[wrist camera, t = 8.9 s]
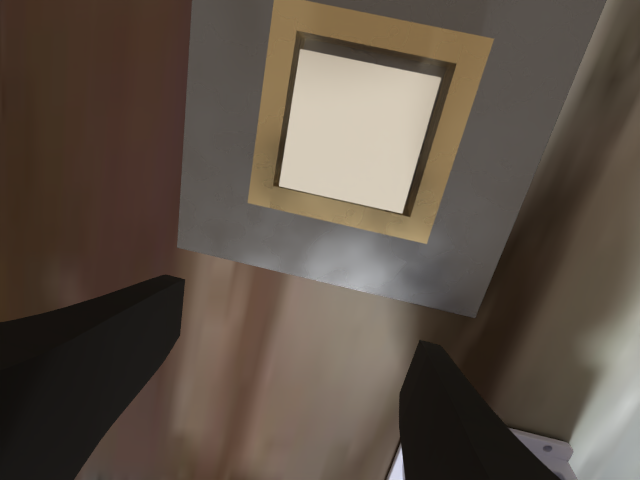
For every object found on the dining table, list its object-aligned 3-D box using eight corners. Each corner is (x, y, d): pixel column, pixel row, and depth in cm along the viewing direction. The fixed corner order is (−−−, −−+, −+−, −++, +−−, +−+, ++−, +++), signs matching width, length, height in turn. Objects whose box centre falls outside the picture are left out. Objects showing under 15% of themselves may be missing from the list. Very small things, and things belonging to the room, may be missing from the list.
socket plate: (612, -45, 14) (669, -79, 12) (470, 308, 20) (485, 341, 18) (210, -121, 15) (174, -170, 12) (185, 240, 21) (157, 262, 18)
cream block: (417, 84, 16) (441, 77, 10) (392, 176, 17) (402, 213, 12) (324, 65, 16) (300, 48, 11) (307, 158, 18) (278, 186, 12)
